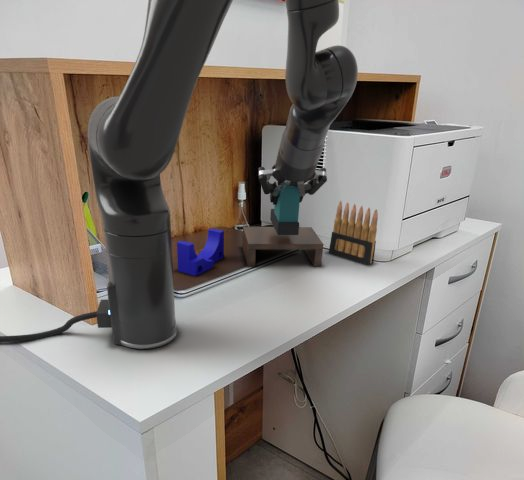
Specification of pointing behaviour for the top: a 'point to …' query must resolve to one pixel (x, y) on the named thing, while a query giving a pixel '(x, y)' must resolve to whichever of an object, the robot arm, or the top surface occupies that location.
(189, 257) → the blue u-shaped cradle
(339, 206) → the ammunition clip
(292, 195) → the teal block on base
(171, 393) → the top surface
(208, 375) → the top surface
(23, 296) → the top surface
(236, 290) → the top surface
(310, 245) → the walnut shelf
